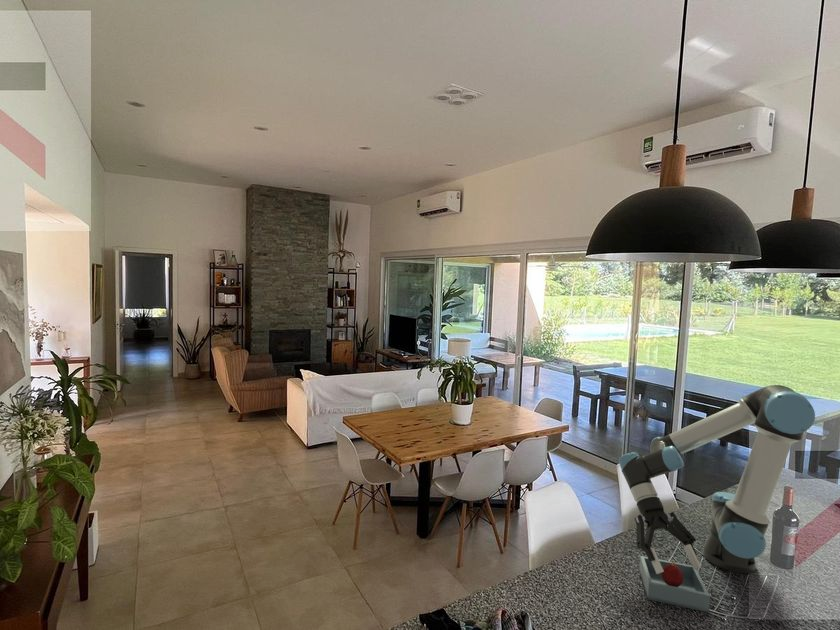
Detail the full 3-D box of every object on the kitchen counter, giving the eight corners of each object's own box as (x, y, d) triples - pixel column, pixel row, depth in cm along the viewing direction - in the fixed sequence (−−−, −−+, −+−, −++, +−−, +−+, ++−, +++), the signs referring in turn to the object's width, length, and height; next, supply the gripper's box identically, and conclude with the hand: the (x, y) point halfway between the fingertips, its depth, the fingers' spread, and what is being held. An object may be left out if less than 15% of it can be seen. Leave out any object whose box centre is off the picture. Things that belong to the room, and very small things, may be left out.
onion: (685, 595, 136) (686, 570, 136) (664, 592, 137) (666, 567, 137) (678, 582, 142) (679, 558, 141) (658, 579, 143) (659, 555, 142)
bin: (693, 581, 145) (695, 566, 144) (708, 612, 130) (709, 595, 130) (639, 570, 149) (640, 555, 149) (647, 599, 135) (648, 583, 135)
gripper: (672, 501, 156) (705, 569, 143) (609, 506, 151) (637, 577, 137) (685, 493, 151) (721, 563, 137) (620, 498, 145) (650, 571, 132)
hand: (679, 570), depth 137 cm, fingers open, 13 cm apart
